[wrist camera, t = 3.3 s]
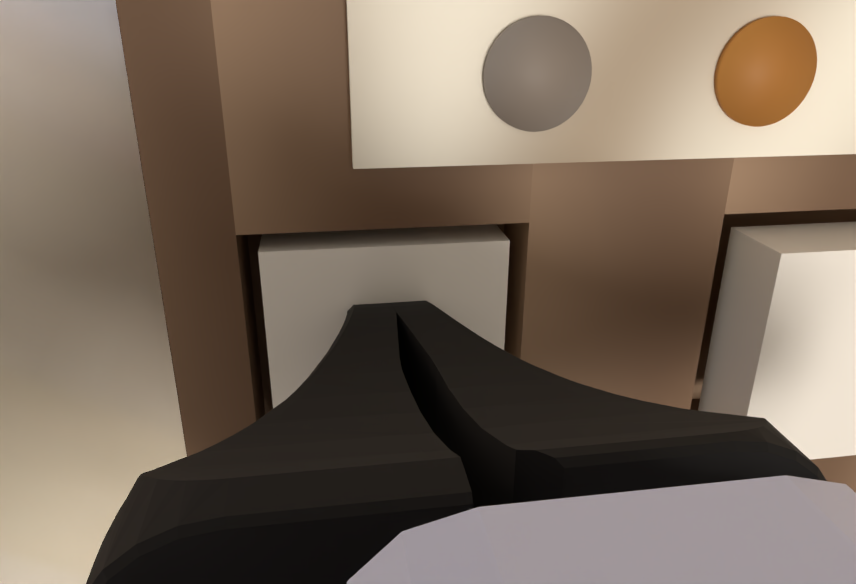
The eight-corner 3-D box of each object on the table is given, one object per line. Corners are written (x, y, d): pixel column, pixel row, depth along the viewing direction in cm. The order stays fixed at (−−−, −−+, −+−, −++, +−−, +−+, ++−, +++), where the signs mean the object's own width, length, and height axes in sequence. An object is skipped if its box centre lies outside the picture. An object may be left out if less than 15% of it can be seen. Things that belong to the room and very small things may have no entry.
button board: (266, 765, 20) (257, 925, 17) (136, -234, 11) (53, -348, 7) (739, 693, 22) (819, 821, 19) (966, -190, 13) (1205, -263, 10)
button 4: (695, 423, 13) (736, 467, 12) (731, 226, 12) (781, 253, 11) (877, 407, 14) (935, 447, 13) (934, 217, 12) (1005, 241, 11)
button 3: (281, 422, 13) (279, 466, 12) (263, 226, 12) (258, 252, 11) (481, 405, 14) (499, 446, 13) (489, 216, 12) (509, 240, 11)
